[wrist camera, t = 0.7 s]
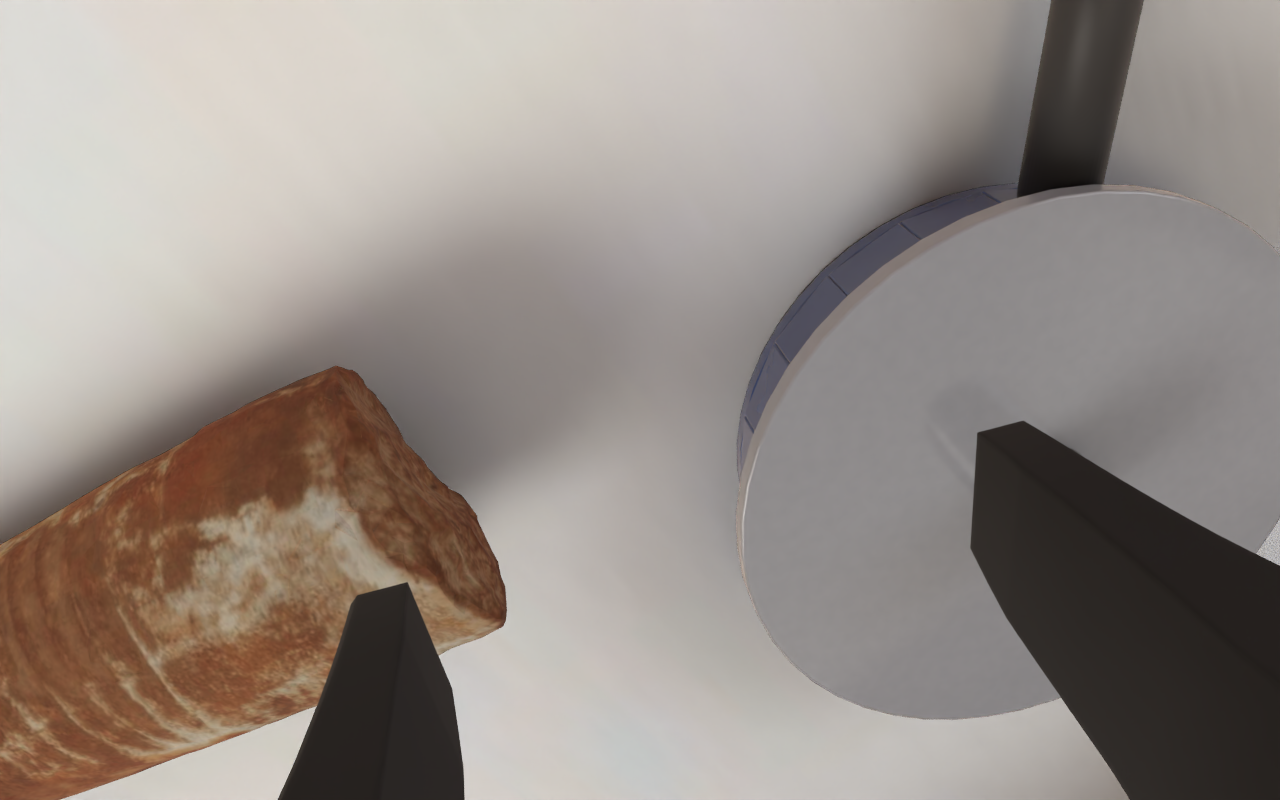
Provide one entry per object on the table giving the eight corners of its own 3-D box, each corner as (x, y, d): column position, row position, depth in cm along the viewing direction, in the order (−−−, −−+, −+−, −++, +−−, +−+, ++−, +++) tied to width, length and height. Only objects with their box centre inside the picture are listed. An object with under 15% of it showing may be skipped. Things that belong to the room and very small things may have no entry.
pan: (1132, 583, 30) (1196, 650, 27) (725, 635, 28) (755, 711, 25) (1251, 169, 24) (1345, 206, 22) (750, 196, 22) (791, 241, 20)
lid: (1200, 654, 28) (1325, 783, 24) (715, 722, 26) (768, 877, 22) (1368, 159, 22) (1576, 228, 18) (744, 192, 20) (826, 279, 16)
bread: (516, 514, 25) (541, 679, 20) (-196, 841, 25) (-341, 1079, 20) (382, 293, 21) (373, 426, 17) (-430, 673, 22) (-666, 909, 17)
